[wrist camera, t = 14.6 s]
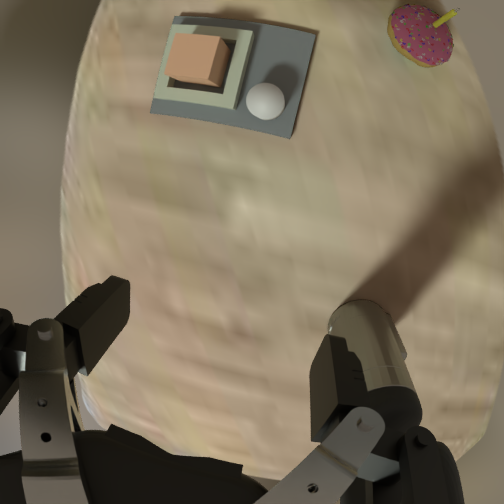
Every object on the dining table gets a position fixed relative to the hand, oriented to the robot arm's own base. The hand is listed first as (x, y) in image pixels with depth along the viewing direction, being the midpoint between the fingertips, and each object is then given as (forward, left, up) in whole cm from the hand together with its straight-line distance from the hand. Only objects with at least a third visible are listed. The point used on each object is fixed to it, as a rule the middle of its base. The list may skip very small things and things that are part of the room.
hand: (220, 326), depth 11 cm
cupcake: (-13, -25, -28) cm, 40 cm away
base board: (+8, -14, -28) cm, 32 cm away
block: (+11, -14, -27) cm, 32 cm away
